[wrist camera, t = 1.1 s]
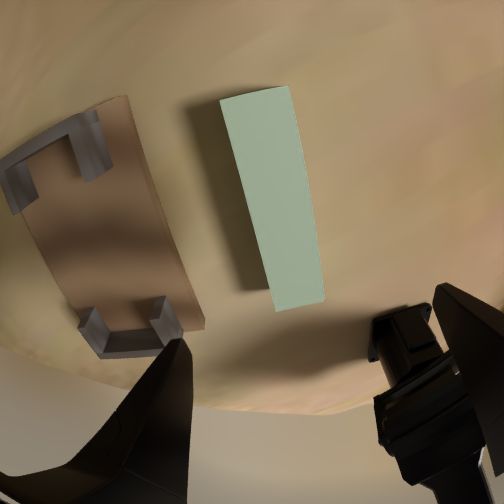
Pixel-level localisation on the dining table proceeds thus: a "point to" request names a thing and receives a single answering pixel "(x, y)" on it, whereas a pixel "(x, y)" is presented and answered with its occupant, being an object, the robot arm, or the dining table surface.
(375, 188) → the dining table surface
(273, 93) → the slat
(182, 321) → the frame
